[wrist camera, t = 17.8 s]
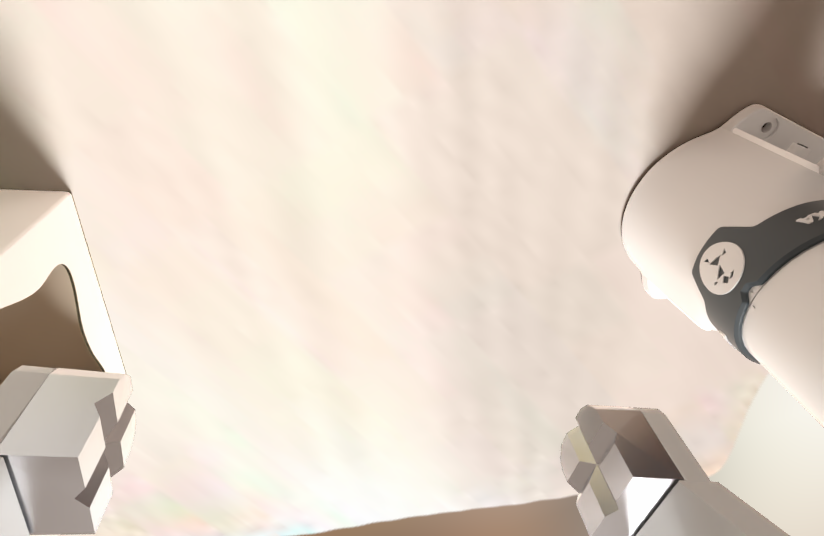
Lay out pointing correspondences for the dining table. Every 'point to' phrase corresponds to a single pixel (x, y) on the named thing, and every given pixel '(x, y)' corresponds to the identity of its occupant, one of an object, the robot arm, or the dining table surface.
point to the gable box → (50, 289)
